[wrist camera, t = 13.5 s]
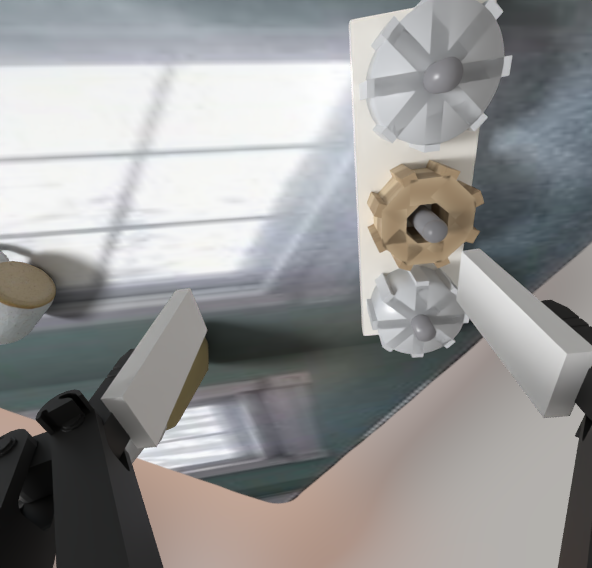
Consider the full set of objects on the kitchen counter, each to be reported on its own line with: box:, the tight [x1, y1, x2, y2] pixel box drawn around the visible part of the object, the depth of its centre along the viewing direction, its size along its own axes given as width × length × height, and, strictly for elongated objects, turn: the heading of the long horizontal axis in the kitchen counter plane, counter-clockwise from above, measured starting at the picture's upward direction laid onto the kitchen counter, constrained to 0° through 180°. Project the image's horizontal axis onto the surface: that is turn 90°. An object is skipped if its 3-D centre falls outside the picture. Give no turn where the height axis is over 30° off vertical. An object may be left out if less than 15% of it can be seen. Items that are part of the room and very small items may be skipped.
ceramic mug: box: [0, 251, 56, 345], centre depth 37 cm, size 11×8×8 cm
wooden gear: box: [367, 160, 484, 271], centre depth 30 cm, size 9×9×4 cm
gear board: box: [349, 0, 512, 357], centre depth 29 cm, size 32×11×9 cm, turn 8°
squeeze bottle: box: [125, 337, 209, 463], centre depth 36 cm, size 8×8×18 cm
